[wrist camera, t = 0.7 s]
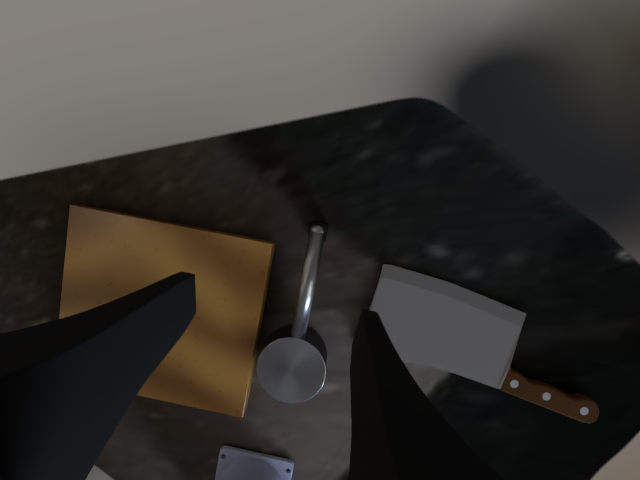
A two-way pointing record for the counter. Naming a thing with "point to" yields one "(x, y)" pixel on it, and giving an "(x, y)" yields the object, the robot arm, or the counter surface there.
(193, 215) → the counter surface
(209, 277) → the chopping board
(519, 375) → the kitchen cleaver
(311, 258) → the grey disc-end rod
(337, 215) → the counter surface
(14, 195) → the counter surface
